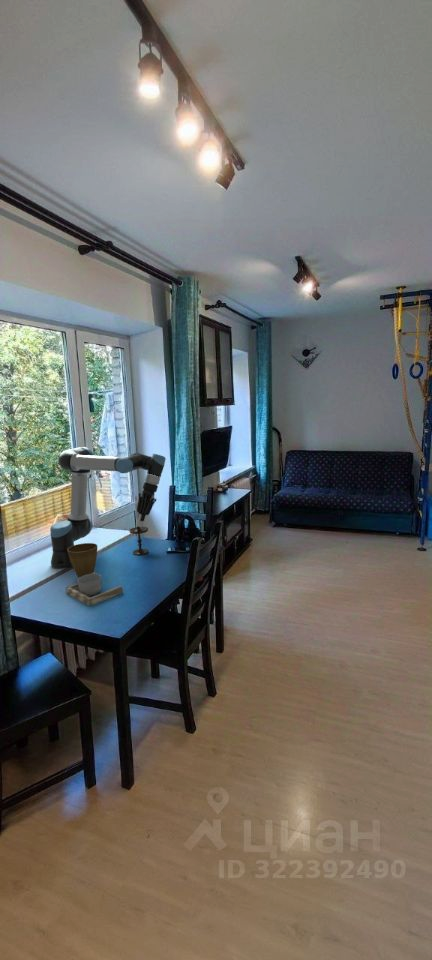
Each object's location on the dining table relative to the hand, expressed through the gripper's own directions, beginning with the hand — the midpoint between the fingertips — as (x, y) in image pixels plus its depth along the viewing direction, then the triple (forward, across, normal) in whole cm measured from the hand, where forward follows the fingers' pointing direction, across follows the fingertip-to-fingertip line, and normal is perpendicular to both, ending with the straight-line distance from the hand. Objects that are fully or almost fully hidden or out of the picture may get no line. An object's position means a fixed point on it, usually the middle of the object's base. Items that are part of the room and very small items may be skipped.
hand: (138, 526), depth 236 cm
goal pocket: (+33, -9, +21) cm, 40 cm away
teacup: (+34, -7, +21) cm, 41 cm away
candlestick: (+19, +20, -24) cm, 36 cm away
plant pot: (+33, +13, +14) cm, 38 cm away
